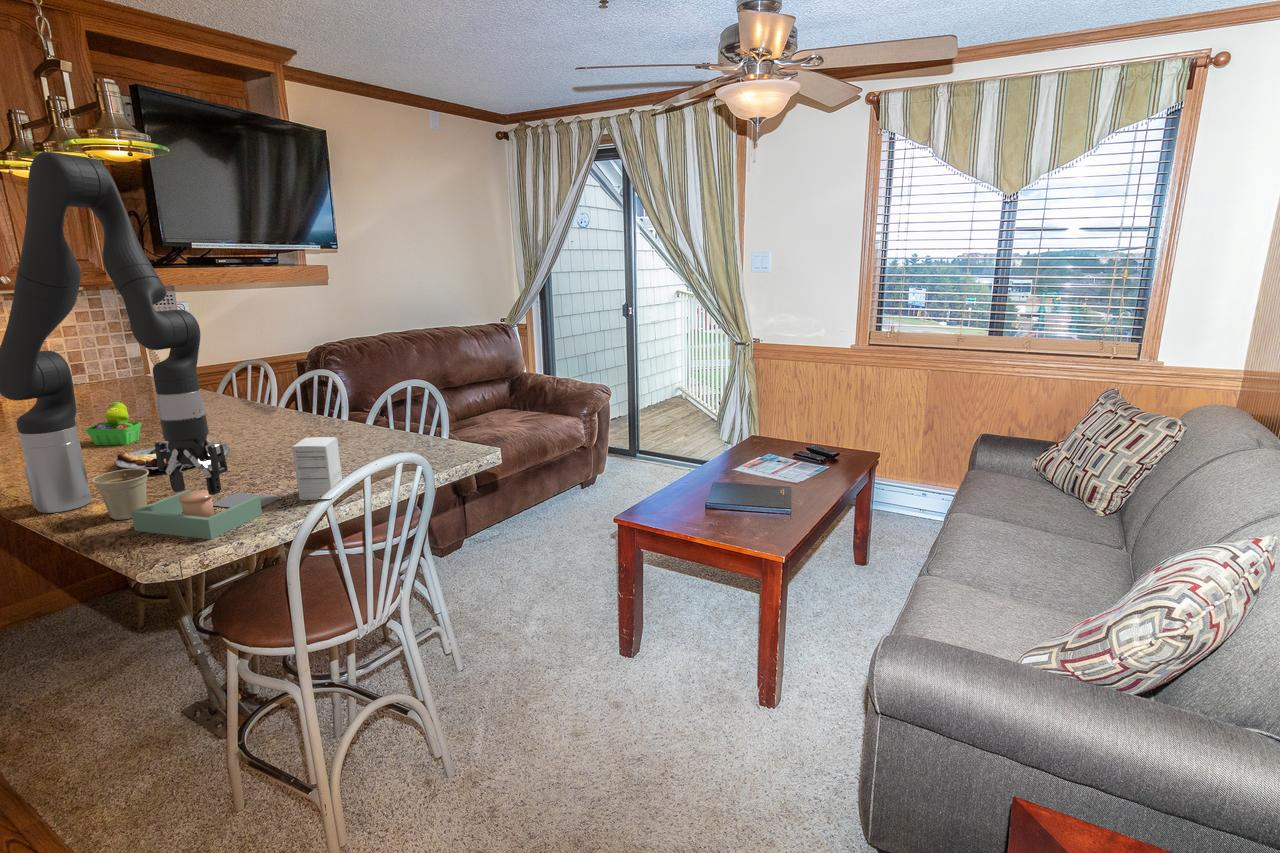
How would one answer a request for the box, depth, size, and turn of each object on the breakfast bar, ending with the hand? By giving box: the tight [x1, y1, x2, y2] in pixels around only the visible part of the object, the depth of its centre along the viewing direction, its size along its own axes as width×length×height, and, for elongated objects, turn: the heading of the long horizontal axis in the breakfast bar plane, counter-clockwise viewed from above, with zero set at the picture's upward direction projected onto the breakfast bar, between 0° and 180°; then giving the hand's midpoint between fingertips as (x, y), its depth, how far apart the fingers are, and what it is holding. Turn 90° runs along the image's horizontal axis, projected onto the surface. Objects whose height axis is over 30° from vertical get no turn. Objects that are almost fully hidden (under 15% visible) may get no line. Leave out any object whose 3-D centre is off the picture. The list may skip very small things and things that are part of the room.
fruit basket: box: [84, 401, 142, 446], centre depth 193 cm, size 11×9×11 cm
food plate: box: [113, 441, 231, 472], centre depth 177 cm, size 25×23×4 cm
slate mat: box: [213, 492, 283, 509], centre depth 149 cm, size 12×8×1 cm, turn 77°
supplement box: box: [291, 436, 343, 501], centre depth 152 cm, size 7×7×13 cm
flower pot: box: [91, 468, 150, 521], centre depth 140 cm, size 9×9×9 cm
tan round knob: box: [179, 489, 216, 518], centre depth 137 cm, size 6×6×6 cm
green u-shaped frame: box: [131, 489, 263, 540], centre depth 137 cm, size 18×13×4 cm
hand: (197, 492), depth 136 cm, fingers open, 8 cm apart
